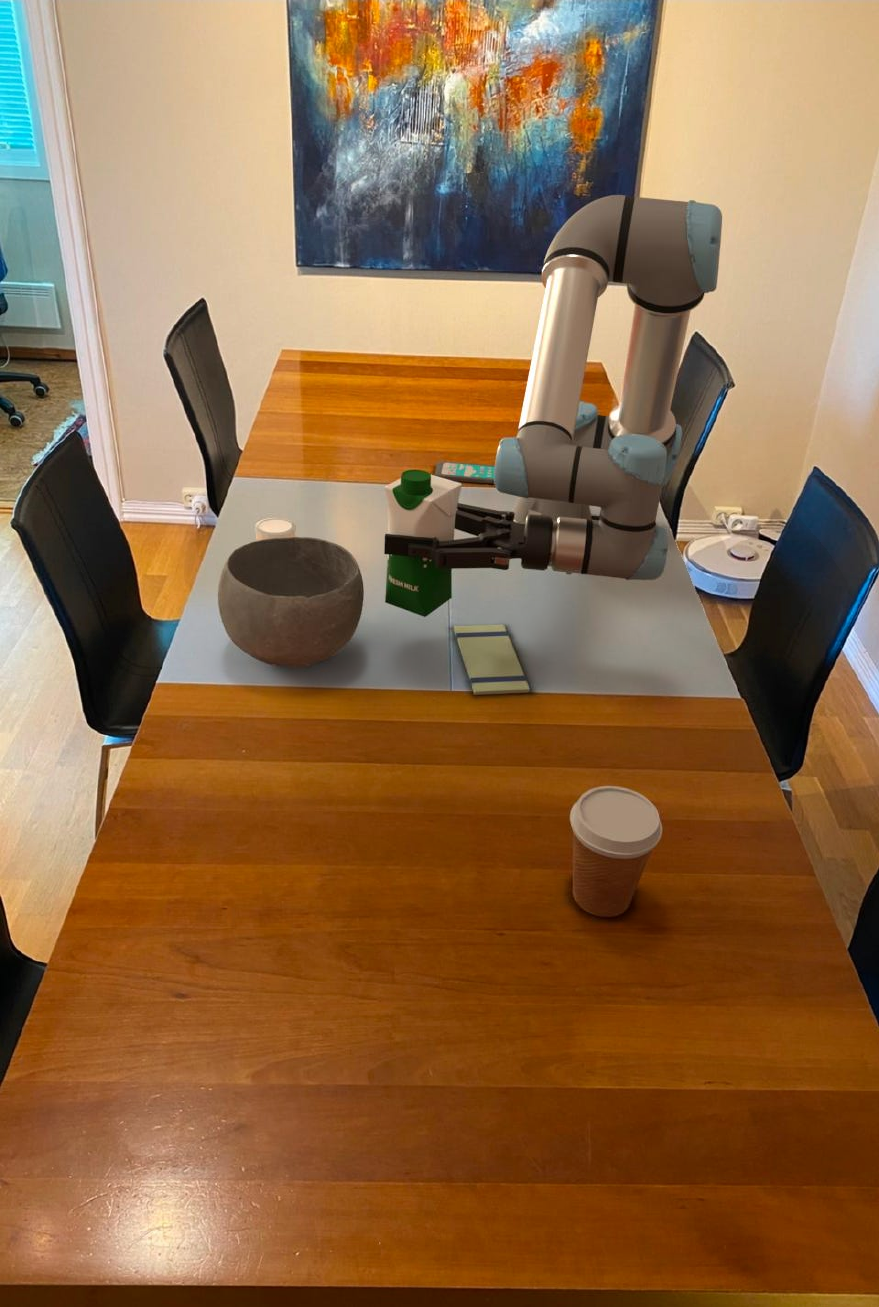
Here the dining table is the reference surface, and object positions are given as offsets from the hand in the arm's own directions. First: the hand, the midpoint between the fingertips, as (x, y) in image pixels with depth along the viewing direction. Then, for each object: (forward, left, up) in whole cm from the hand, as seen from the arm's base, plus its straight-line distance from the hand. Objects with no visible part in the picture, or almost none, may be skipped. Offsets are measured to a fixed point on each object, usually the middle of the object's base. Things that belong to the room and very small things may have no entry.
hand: (390, 528), depth 137 cm
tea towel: (-15, +4, -20) cm, 25 cm away
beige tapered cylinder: (+16, -29, -20) cm, 39 cm away
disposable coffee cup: (-18, +52, -20) cm, 58 cm away
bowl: (+14, 0, -20) cm, 25 cm away
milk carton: (-4, +1, -11) cm, 12 cm away
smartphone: (-25, -67, -20) cm, 75 cm away
